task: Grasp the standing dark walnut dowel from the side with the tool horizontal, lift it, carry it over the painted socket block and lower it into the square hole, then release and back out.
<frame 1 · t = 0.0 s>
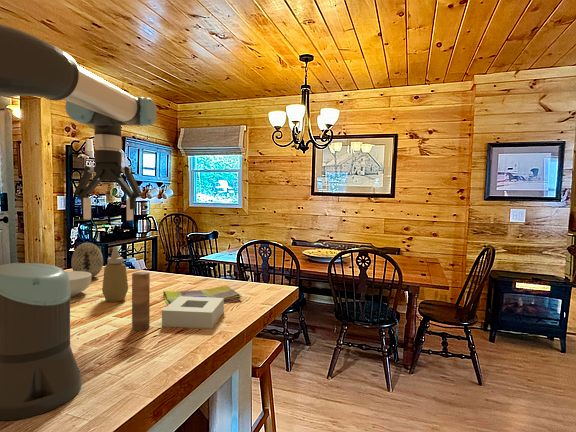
hand: (108, 219, 115), 28 cm above the counter, tool pointing down, fingers open, 13 cm apart
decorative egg: (87, 278, 155), on the counter
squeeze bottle: (115, 300, 125), on the counter
socket block: (194, 318, 108), on the counter
walnut dowel: (140, 328, 100), on the counter
cereal bowl: (64, 295, 129), on the counter
dish towel: (201, 300, 130), on the counter
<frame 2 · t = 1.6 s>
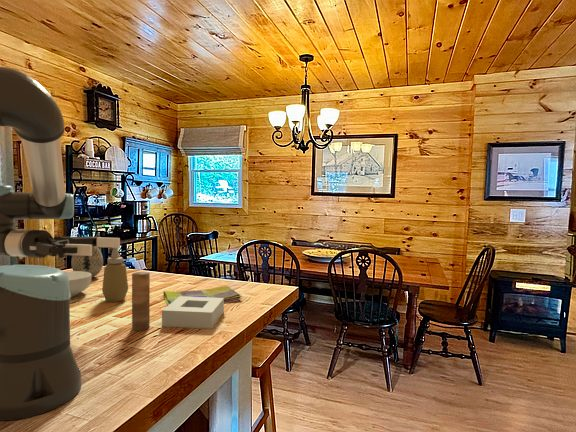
hand: (106, 246, 99), 22 cm above the counter, tool horizontal, fingers open, 13 cm apart
nothing on the counter moved.
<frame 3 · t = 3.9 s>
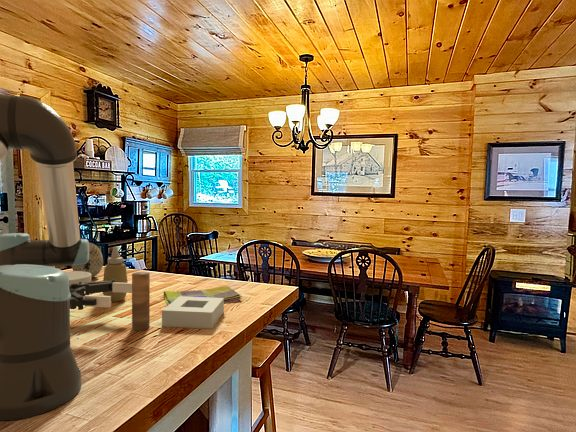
hand: (123, 294, 101), 9 cm above the counter, tool horizontal, fingers open, 13 cm apart
nothing on the counter moved.
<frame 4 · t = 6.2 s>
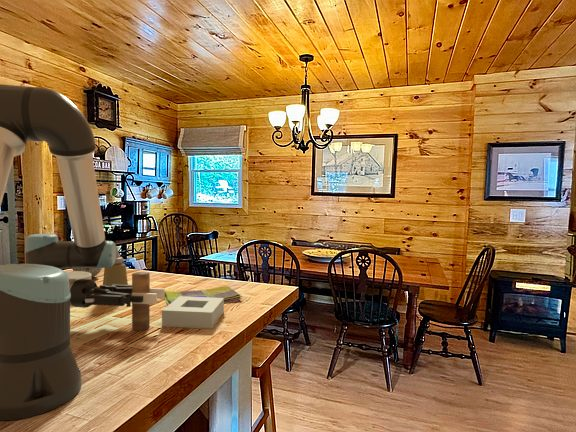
hand: (160, 296, 99), 9 cm above the counter, tool horizontal, fingers closed on walnut dowel, 4 cm apart
walnut dowel: (140, 328, 100), on the counter, touching gripper
everything else where it was.
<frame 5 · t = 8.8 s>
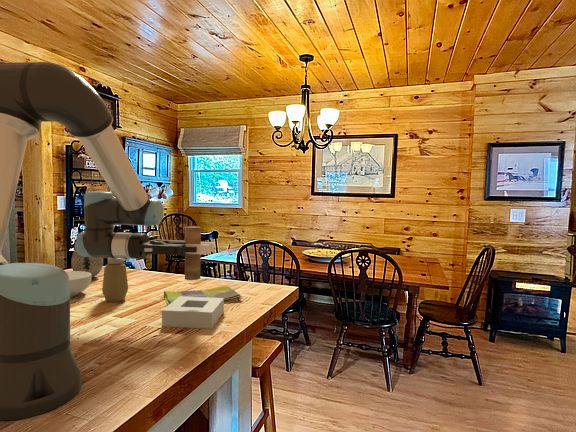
hand: (211, 248, 107), 21 cm above the counter, tool horizontal, fingers closed on walnut dowel, 4 cm apart
walnut dowel: (192, 278, 108), point 12 cm above the counter, touching gripper
everything else where it was.
when the fingers open (11 cm above the counter, at t = 11.6 s): walnut dowel drops 1 cm, resting in socket block.
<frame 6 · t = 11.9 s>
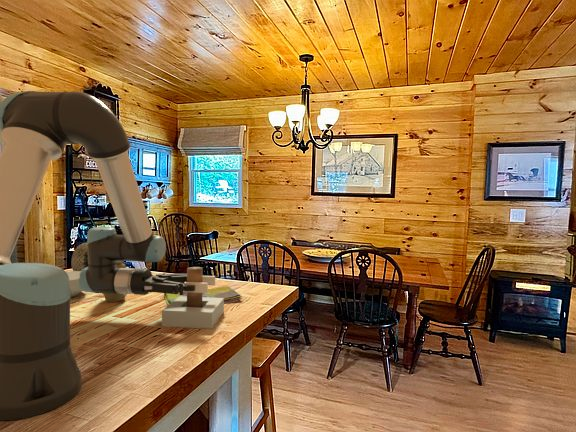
hand: (211, 284, 108), 11 cm above the counter, tool horizontal, fingers open, 8 cm apart
walnut dowel: (194, 318, 108), resting in socket block
everything else where it was.
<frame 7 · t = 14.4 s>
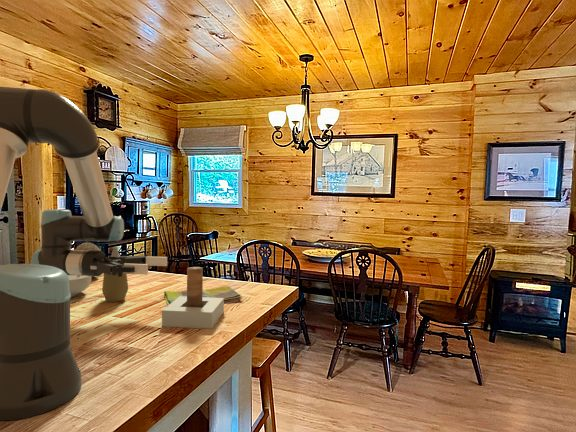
hand: (157, 265, 108), 16 cm above the counter, tool horizontal, fingers open, 13 cm apart
nothing on the counter moved.
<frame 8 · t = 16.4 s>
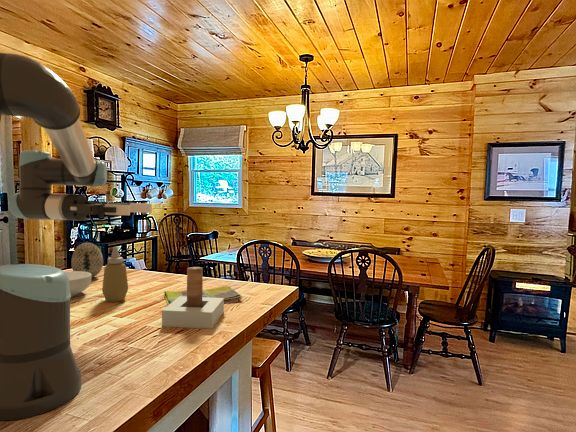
hand: (141, 209, 104), 32 cm above the counter, tool horizontal, fingers open, 13 cm apart
nothing on the counter moved.
at the end: walnut dowel 0.0 cm off-centre on the socket block, point 0.0 cm above the socket block's base; walnut dowel tilted 0°; the gripper is holding nothing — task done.
